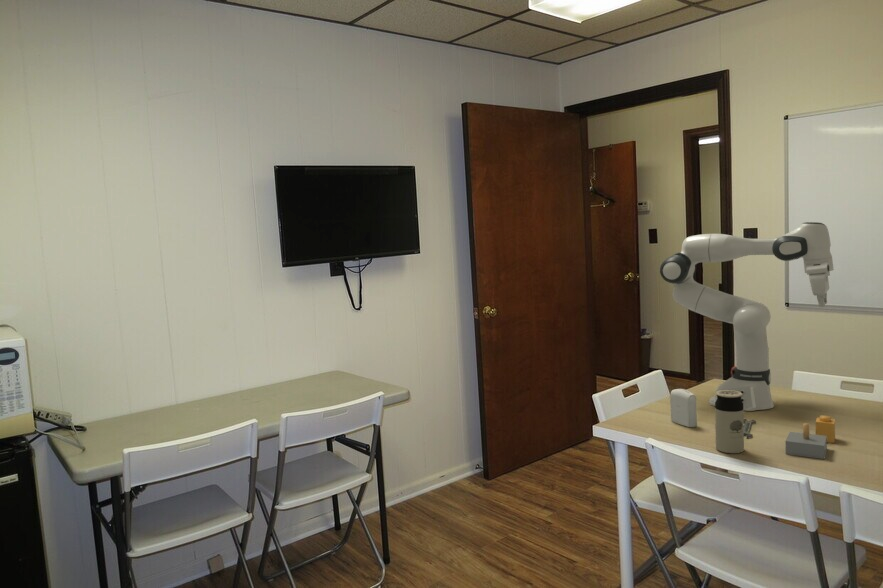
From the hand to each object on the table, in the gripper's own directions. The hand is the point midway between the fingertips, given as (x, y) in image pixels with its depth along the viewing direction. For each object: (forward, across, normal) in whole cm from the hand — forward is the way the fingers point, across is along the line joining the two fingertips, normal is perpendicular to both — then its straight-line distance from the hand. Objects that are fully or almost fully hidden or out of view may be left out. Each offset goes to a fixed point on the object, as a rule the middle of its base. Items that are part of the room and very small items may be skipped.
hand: (823, 305), depth 227 cm
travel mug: (+37, +55, -25) cm, 71 cm away
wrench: (+37, +32, -24) cm, 55 cm away
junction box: (+38, +47, -5) cm, 61 cm away
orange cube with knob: (+39, +33, -1) cm, 51 cm away
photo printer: (+35, +34, -44) cm, 66 cm away
